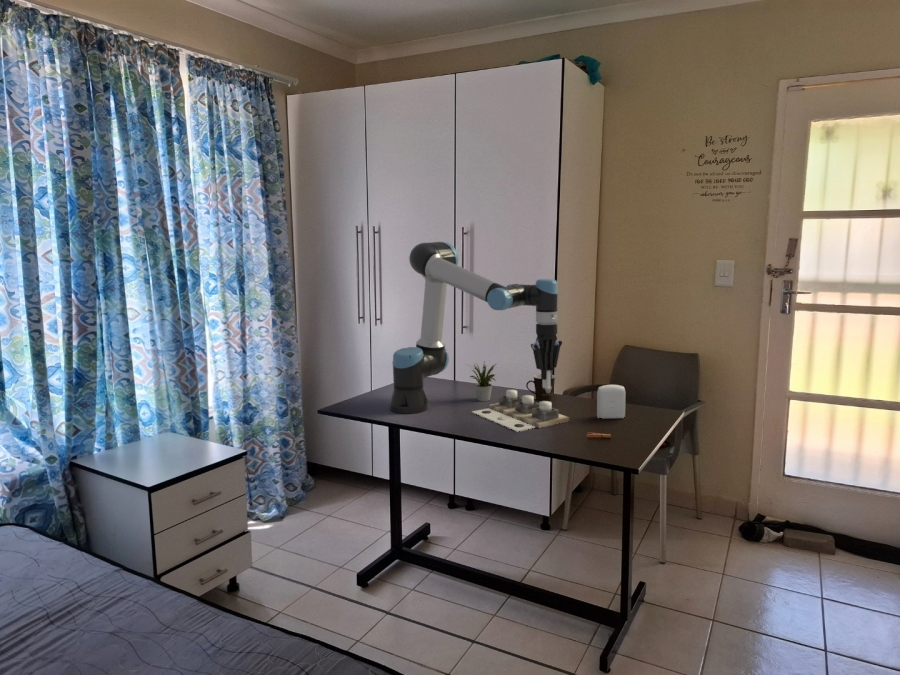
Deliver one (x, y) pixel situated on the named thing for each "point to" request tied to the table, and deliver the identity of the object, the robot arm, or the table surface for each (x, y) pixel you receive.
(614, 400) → the photo printer
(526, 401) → the button middle
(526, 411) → the button board
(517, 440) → the table surface
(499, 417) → the pattern card
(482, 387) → the house plant
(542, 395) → the coffee mug
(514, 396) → the button
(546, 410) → the button
